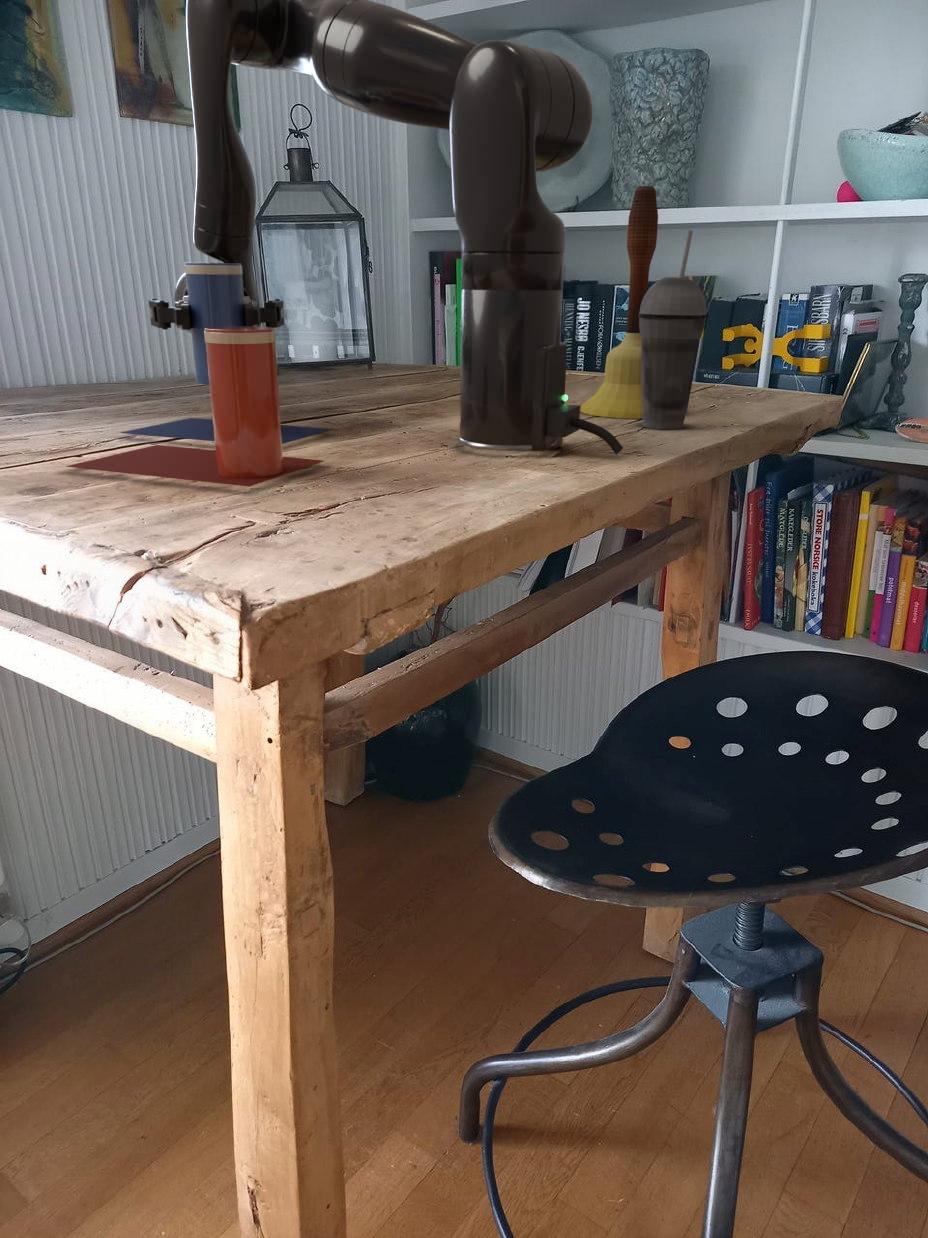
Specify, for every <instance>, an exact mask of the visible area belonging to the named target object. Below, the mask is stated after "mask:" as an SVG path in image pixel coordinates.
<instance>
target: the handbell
mask: <svg viewBox="0 0 928 1238" xmlns="http://www.w3.org/2000/svg"><path fill="white" fill-rule="evenodd" d="M634 190H635V191H634V194H633V198H632V203H631V207H630V210H629V214H628V223H627V236H626V249H627V254H628V260H629V287H628V300H627V317H626V318H627V319H626V331H625V334H624V338H623V340H622V341H621V342H620V343H619V344H618V345H617V346H615V347H613V348H612V349H610V350H609V352H608V353H607V355H606V359H605V366H604V381H603V382H602V384H601V385H600V387H599V388H598V390H597V392H595V394H593V396H591V397H590V398H589V399H587V400H586V401H585V402H583V403H582V405H581V406H580V413H583V414H585V415H590V416H594V417H603V418H611V419H612V418H613V419H634V420H643V419H642V387H641V336H640V329H639V317H638V314H639V313H640V307H641V303H642V300H643V298H644V296H645V294H646V293H647V291H648V290H649V275H650V268H651V263H652V260H653V257H654V255H655V251H656V248H657V241H658V229H659V228H658V227H659V210H658V201H657V191H656V189H655V187H654V186H653V185H639V186H637V187H636V188H635V189H634Z"/></svg>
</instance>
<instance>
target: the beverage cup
mask: <svg viewBox="0 0 928 1238" xmlns="http://www.w3.org/2000/svg"><path fill="white" fill-rule="evenodd" d="M693 232H694V230H693V229H688V230H687V235H686V239H685V246H684V250H683V255H682V260H681V265H680V271H679V276H677V277H674V276H671V277H670V276H669V277H667V276H665V277H663V278H660V279H659V280H657V281H655V282H654V283H653V284H652V285H651V286H650V287H649V288H648V291H647V293H646V294H645V296H644V298H643V300H642V303H641V307H640V313H639V314H638V317H639V329H640V336H641V387H642V419H641V420H642V427H644V428H647V429H655V430H680V429H683V428H684V426H685V421H686V416H687V413H688V409H689V404H690V403H689V402H690V398H691V390H692V386H693V380H694V375H695V370H696V363H697V358H698V353H699V347H700V343H701V341H700V340H701V338H702V337H703V333H704V330H705V326H706V320H707V319H708V315H707V303H706V299H705V296H704V294H703V291H702V290H701V288H700V287H699V285H698V284H697V283H696V282H694V281H693V280H692V279H690V278H688V277H685V274H686V273H685V272H686V268H687V264H688V258H689V254H690V248H691V242H692V237H693Z"/></svg>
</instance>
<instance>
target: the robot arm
mask: <svg viewBox="0 0 928 1238" xmlns="http://www.w3.org/2000/svg"><path fill="white" fill-rule="evenodd" d="M185 5H186V6H185V24H186V25H185V26H186V28H185V29H186V43H187V56H188V69H189V81H190V83H189V84H190V95H191V106H192V115H193V116H192V117H193V128H194V139H195V160H196V161H195V162H196V163H195V164H196V169H195V171H196V172H195V173H196V174H195V193H194V196H195V197H194V198H195V199H194V211H193V212H194V215H193V231H192V232H193V233H192V234H193V235H192V238H193V240H192V241H193V245H194V247H195V248H196V250H197V251H198V252H200V253H201V254H202V255H205V256H207V257H208V258H212V259H214V260H216V261H219V262H220V263H241V265H242V272H243V274H242V279H243V293H244V308H245V322H246V326H257V327H261V324H265V327H273V328H280V327H282V326H285V323H286V322H285V307H284V306H285V305H284V300H281V299H280V298H275V299H274V300H266V301H264V302H263V307H261V303H260V298H259V292H258V287H257V282H256V278H255V277H256V276H255V269H254V262H253V239H254V227H255V215H256V204H257V189H256V187H257V186H256V180H255V174H254V171H253V168H252V164H251V162H250V159H249V156H248V154H247V151H246V149H245V146H244V144H243V142H242V138H241V137H240V133H239V131H238V127H237V124H236V122H235V121H236V120H235V118H234V114H233V110H232V105H231V98H230V77H231V69H232V65H238V66H243V67H250V68H257V69H263V70H278V71H286V72H291V73H298V74H301V75H302V74H303V75H307V76H310V77H312V78H313V79H314V80H315V82H316V84H317V85H318V86H319V88H320V89H321V90H322V91H323V92H324V93H325V94H326V95H327V96H329V97H330V98H331V99H333V100H334V101H336V102H338V103H340V104H342V105H344V106H347V107H349V108H352V109H354V110H357V111H359V112H362V113H364V114H367V115H370V116H373V117H377V118H380V119H383V120H387V121H392V122H397V123H401V124H405V125H412V126H417V127H424V128H431V129H438V130H444V131H445V130H446V131H449V151H450V154H449V155H450V172H451V173H450V174H451V175H450V176H451V200H452V210H453V211H452V212H453V216H454V219H455V222H456V225H457V228H458V231H459V235H460V245H461V247H460V248H461V250H460V252H461V254H460V255H461V261H460V262H461V263H460V264H461V265H460V266H461V267H460V277H461V279H460V284H461V285H460V288H461V290H460V379H459V380H460V381H459V382H460V387H459V390H460V392H459V397H460V398H459V399H460V400H459V402H460V403H459V405H460V409H459V410H460V412H459V413H460V417H459V418H460V419H459V420H460V421H459V436H458V442H459V444H460V445H462V446H464V447H467V448H471V449H477V450H485V451H496V452H497V451H498V452H526V451H527V452H528V451H529V452H530V451H535V452H536V451H537V452H545V451H548V450H552V451H553V450H556V449H557V448H559V447H561V446H563V443H564V441H563V440H564V438H566V437H569V436H570V435H572V434H574V433H576V432H578V431H580V430H582V431H583V432H587V433H591V434H593V435H595V436H597V437H598V438H600V439H601V440H603V441H604V442H605V443H606V444H607V445H608V446H609V448H610V449H611V450H612V451H613V453H614V454H615V455H617V454H620V452H621V451H623V449H624V446H622V444H621V443H620V442H619V440H618V439H617V438H616V437H615V436H614V434H612V433H611V432H610V431H609V430H608V429H606V428H604V427H603V426H600V425H598V424H596V423H593V422H590V421H587V420H584V419H582V418H580V416H581V411H580V408H581V405H579V404H565V402H567V400H568V399H569V396H568V395H567V394H566V379H567V378H566V377H567V357H568V356H567V354H568V345H567V343H566V342H563V341H562V340H561V339H562V319H563V318H562V315H563V297H564V295H563V293H564V291H563V289H564V271H565V253H566V251H565V250H566V227H565V223H564V221H563V220H562V219H561V218H560V217H559V216H558V215H557V214H556V213H555V212H554V211H553V210H551V209H550V208H549V207H548V205H547V204H546V203H545V201H544V200H543V197H542V196H541V193H540V191H539V188H538V184H537V173H543V172H546V171H550V170H554V169H556V168H560V167H562V166H563V165H565V164H567V163H568V162H569V161H570V160H572V159H574V157H575V156H576V155H577V154H578V153H579V151H581V150H582V148H583V146H584V145H585V143H586V142H587V140H588V137H589V135H590V132H591V130H592V126H593V114H594V111H593V109H594V108H593V102H592V97H591V93H590V91H589V87H588V85H587V83H586V81H585V79H584V77H583V76H582V74H581V73H580V72H579V71H578V70H577V69H576V67H575V66H574V64H572V63H571V62H570V61H568V60H567V59H565V58H564V57H563V56H560V55H558V54H556V53H553V52H551V51H547V50H545V49H539V48H536V47H533V46H528V45H525V44H521V43H518V42H514V41H510V40H505V39H490V40H486V41H483V42H481V43H477V42H473V41H471V40H470V39H469V40H468V39H466V38H464V37H463V36H460V35H459V34H456V33H455V32H452V31H450V30H448V29H446V28H444V27H442V26H441V25H437V24H435V23H433V22H431V21H429V20H426V19H424V18H421V17H419V16H416V15H414V14H411V13H409V12H406V11H404V10H401V9H399V8H396V7H393V6H390V5H387V4H383V3H380V2H377V1H372V0H186V4H185ZM174 289H175V290H174V298H173V300H174V306H170V302H169V301H167V300H164V299H158V298H151V299H148V308H149V318H150V325H151V327H152V326H153V327H155V328H157V329H162V330H163V331H164V330H166V331H167V330H168V329H171V328H172V324H174V325H175V326H176V328H177V329H180V331H186V332H187V333H190V334H191V335H192V333H191V321H190V311H189V301H188V291H187V280H186V274H185V272H184V273H182V274H181V276H180V277H179V279H178V281H177V283H176V286H175V288H174Z"/></svg>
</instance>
